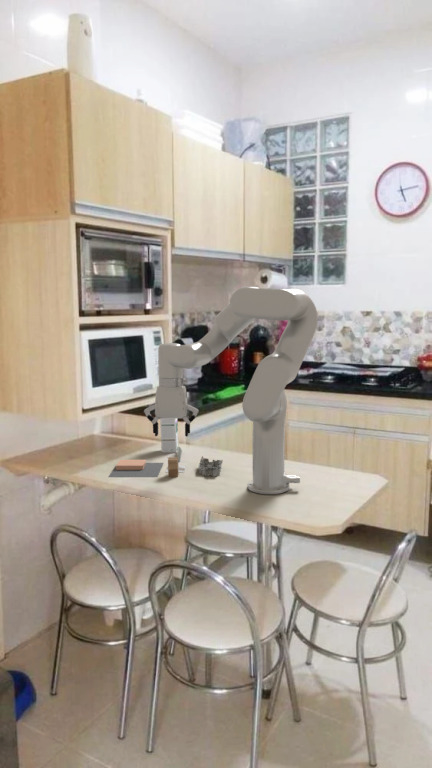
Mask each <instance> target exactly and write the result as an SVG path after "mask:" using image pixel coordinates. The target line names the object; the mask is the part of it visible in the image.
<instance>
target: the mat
mask: <svg viewBox="0 0 432 768" xmlns="http://www.w3.org/2000/svg"><path fill="white" fill-rule="evenodd" d="M163 466H164V462H146V465H145V467H144V469H143V470H116V465H115V466H114V468H113V470H112V471H111V472H110V473H109V475H108V476H107V477H108V478H158V477H159V475H160V472H161V470H162V467H163Z"/></svg>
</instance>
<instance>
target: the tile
mask: <svg viewBox="0 0 432 768" xmlns="http://www.w3.org/2000/svg"><path fill="white" fill-rule="evenodd" d="M146 463H147V460H146V459H119V461H118V462H117V464H116V465H115V466H116V470H143V469H144V467H145V465H146Z"/></svg>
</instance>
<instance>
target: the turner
mask: <svg viewBox="0 0 432 768" xmlns="http://www.w3.org/2000/svg"><path fill="white" fill-rule="evenodd" d="M168 457H169V456H168ZM185 470H186V465H179V463H178V457H169V459H168V458H167V467H166V470H165V473H167V476H168V478H178V477H179V474H180V473H185Z"/></svg>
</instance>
